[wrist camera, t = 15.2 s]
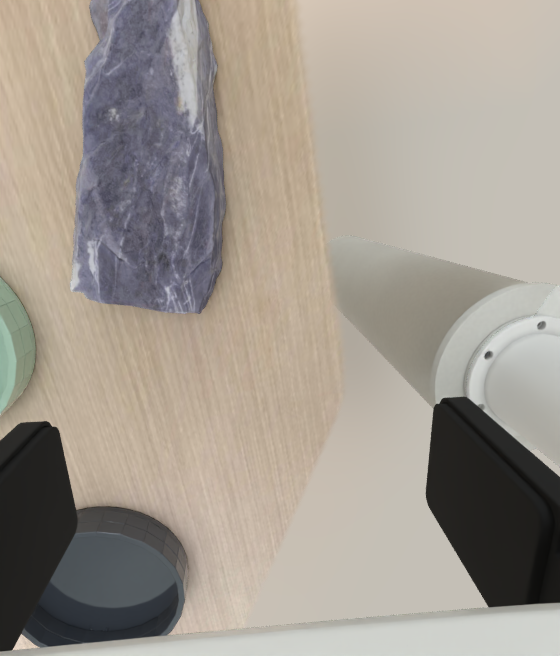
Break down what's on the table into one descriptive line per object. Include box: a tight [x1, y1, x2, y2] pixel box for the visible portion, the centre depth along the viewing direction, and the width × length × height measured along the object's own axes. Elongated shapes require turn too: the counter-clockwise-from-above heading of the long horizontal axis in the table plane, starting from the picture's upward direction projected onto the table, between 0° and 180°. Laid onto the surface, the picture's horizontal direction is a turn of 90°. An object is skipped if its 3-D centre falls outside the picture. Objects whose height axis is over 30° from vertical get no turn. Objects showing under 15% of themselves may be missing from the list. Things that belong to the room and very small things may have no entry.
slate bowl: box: [21, 507, 188, 648], centre depth 39 cm, size 16×16×3 cm
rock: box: [70, 0, 226, 314], centre depth 27 cm, size 25×11×5 cm, turn 170°
